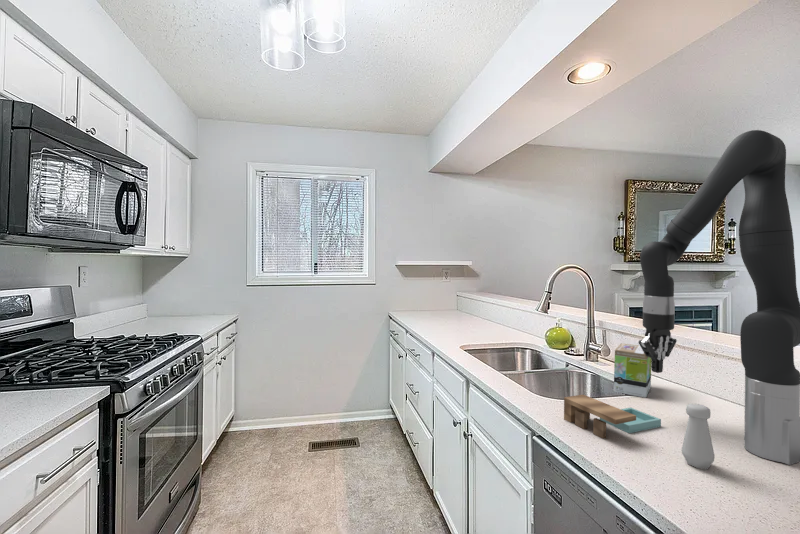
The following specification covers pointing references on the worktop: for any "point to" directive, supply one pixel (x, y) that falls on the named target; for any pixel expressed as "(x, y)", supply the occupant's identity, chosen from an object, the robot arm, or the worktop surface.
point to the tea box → (632, 370)
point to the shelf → (583, 405)
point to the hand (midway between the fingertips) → (657, 371)
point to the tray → (637, 422)
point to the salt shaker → (698, 437)
